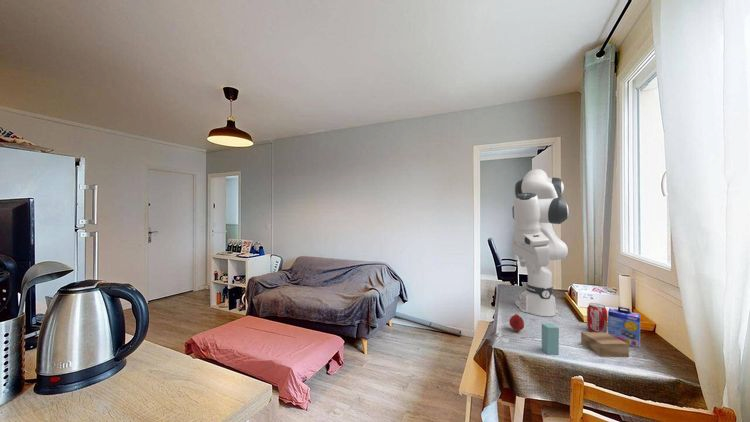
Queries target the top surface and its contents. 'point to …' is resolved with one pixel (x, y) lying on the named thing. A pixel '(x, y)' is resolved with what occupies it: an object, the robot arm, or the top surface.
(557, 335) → the teal block
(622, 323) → the ink cartridge box
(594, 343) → the walnut block
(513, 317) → the onion
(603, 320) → the soda can
